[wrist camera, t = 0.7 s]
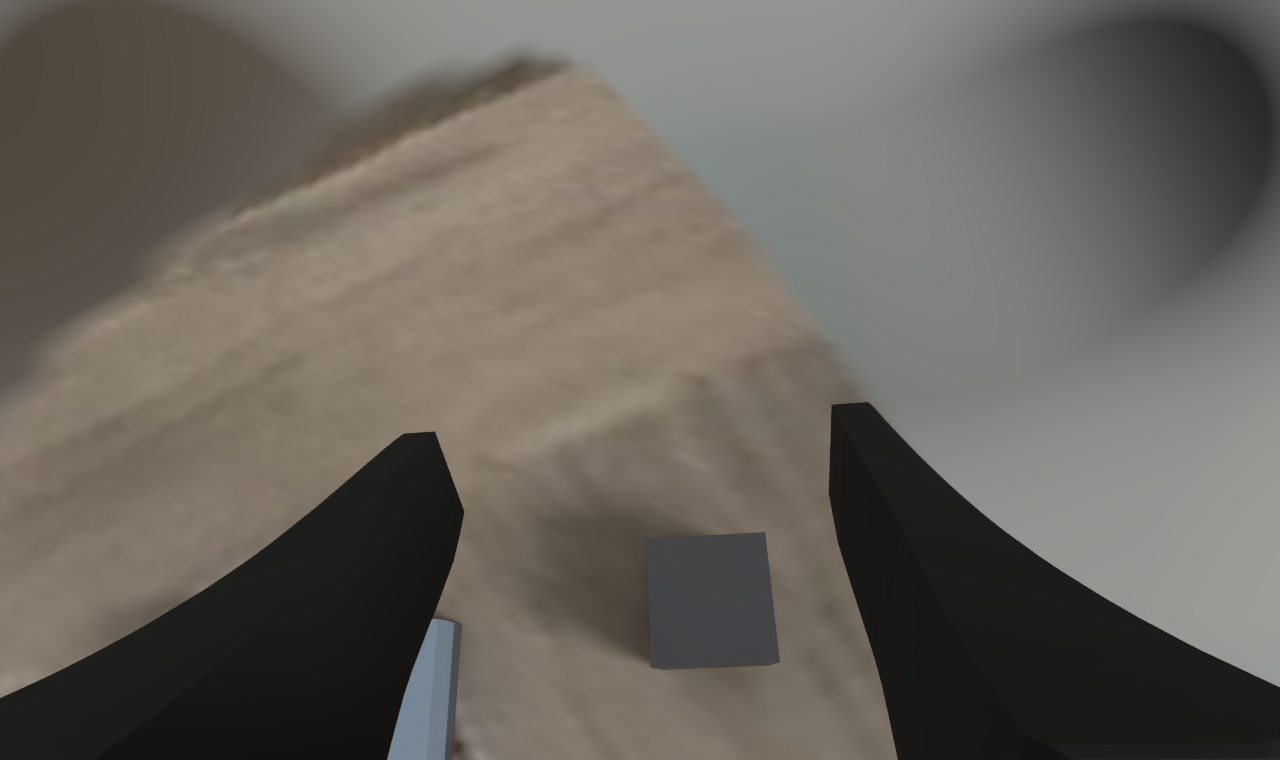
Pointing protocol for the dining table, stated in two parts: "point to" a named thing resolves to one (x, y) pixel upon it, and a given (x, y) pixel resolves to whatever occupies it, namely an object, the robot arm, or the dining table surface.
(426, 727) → the pale blue socket slab
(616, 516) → the dining table surface
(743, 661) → the plug
